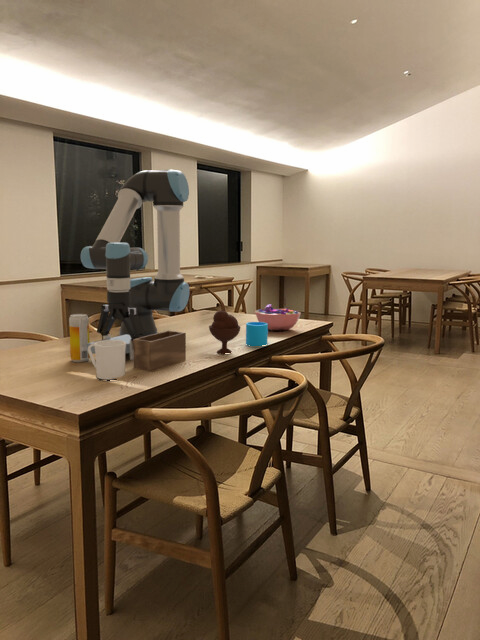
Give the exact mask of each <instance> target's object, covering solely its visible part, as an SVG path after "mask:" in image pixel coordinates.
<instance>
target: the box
mask: <svg viewBox="0 0 480 640" xmlns="http://www.w3.org/2000/svg"><path fill="white" fill-rule="evenodd" d="M186 335H187V334H186V332H184V331H183V332H182V331H174V330H164V331H160V332H157V333H156V334H152V335H148V336H144V337H140V338H136V339H133V355H134V360H133V369H136V370H141V371H147V372H154V371H155V372H156V371H158V370H160V369H164V368H166V367H170V366H172V365H175V364H179V363H181V362H185V361H187V360H186V359H187V358H186V357H187V354H186V352H187V351H186V349H187V347H186V346H187V345H186V344H187V339H186Z"/></svg>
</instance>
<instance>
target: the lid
mask: <svg viewBox="0 0 480 640" xmlns="http://www.w3.org/2000/svg"><path fill="white" fill-rule="evenodd" d="M104 340H121V341H125V342H126V348H125V355H126V354H130V340H131V337H130V335H127V334H125V335H121V336H120V335H118V336H113V337H111V338H109V339H104ZM104 340H102V339H101V340H96V341H93V342H92V341H91V342H89V343H87V353H88V347H89V346H90V345H92V344H94V343H96V342H98V341H104ZM91 352H92V355H95V346H92V347H91Z"/></svg>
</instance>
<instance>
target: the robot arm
mask: <svg viewBox="0 0 480 640" xmlns="http://www.w3.org/2000/svg"><path fill="white" fill-rule="evenodd" d="M189 188H190V187H189V182H188V179H187V177H186V175H185V173H184V172H182V171H181V170H179V169H178V170H176V169H162V170H161V169H157V170H155V169H154V170H150V169H149V170H148V169H147V170H142V171H138V172H137V173H135V174H133V175H132V176H131V177H130V178H128V179H127V180H126V181H125V182H124V183H123V185H122V186H121V187H120V189H119V190H118V192H117V200H116V202H115V204H114V206H113V208H112V210H111V212H110V213H109V215H108V216H107V217H108V218H107V219H106V221H105V223H104V225H103V226H102V228H101V231H100V232H99V234H98V235H97V238H96V239H95V242H94V243H93V244H92V245H89V246H85V247H83V248H82V250H81V252H80V261H81V263H82V266H83V267H85V268H87V269H93V270H100V269H101V270H105V271H106V289H107V290H108V291H107V292H106V302H107V303H108V304H102V305H101V307H100V316H99V320H98V324H97V327H96V328H97V329H96V333H97V334H100V335H101V340H104V339H109V338H112V335H111V333H110V331H111V329H112V328H113V326H114V324H115V321H116V320H120V321H121V323H120V328H119V335H118V336H121V335H125V334H127V335H130V337H131V340H130V353H129V361H130V360H131V361H134V355H133V339H136V338H140V337H144V336H148V335H152V334H156V333H158V328H157V325H156V323H155V320H154V315H153V312H154V311H164V312H165V311H166V312H182V311H183V310H184V309H185V308H186V306H187V304H188V303H189V300H190V299H189V298H190V290H191V289H190V285H189V283H188V282H186V281H185V277H184V275H182V273H181V249H180V248H181V241H180V240H181V235H180V233H181V227H180V226H181V225H180V224H181V223H180V222H181V221H180V218H181V217H180V216H181V215H180V214H181V213H180V211H181V210H182V208H184V202H185V203H186V202H187V201H188V200H189V195H190V189H189ZM146 202H152V206H153V208H154V209H155V210H156V221H157V222H156V225H157V229H156V230H157V274H156V275H155V276H154V277H152V276H146V277H136V278H131V271H135V270H136V271H139V270H141V269H143V268H145V267H146V266H147V264H148V262H149V255H148V254H147V251H146V250H144V249H143V248H141V247H137V246H135V247H130V243H128V242H121V240H122V238H123V237H124V234H125V232H126V230H127V228H128V227H129V225H130V222H131V221H132V219H133V217H134V216H135V215H134V214H135V213H136V210H137V209H140V208H141V207H142V204H144V203H146ZM153 278H154V280H153Z"/></svg>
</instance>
